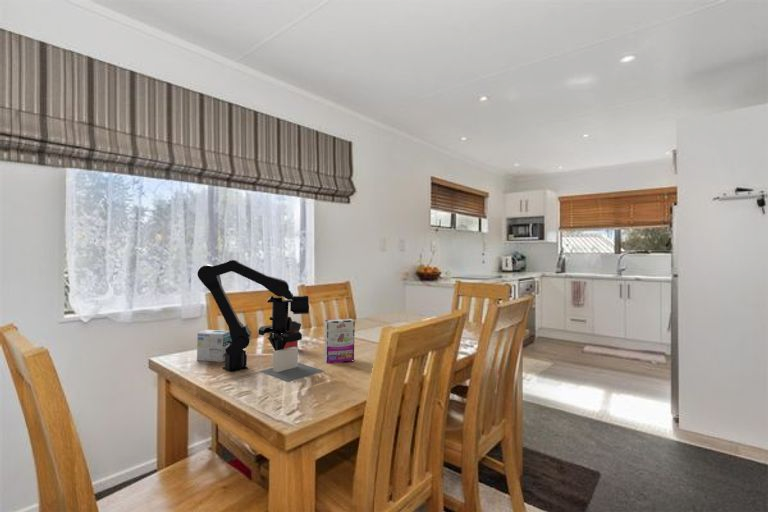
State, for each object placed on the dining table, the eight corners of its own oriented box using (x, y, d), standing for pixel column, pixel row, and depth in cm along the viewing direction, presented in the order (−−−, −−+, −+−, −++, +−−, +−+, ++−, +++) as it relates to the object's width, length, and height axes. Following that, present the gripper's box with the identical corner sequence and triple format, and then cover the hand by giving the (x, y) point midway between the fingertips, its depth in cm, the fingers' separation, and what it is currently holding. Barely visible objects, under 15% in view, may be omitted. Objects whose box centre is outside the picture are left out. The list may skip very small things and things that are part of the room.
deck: (276, 372, 133) (277, 352, 133) (272, 370, 135) (273, 351, 135) (297, 366, 140) (298, 347, 140) (293, 365, 142) (293, 346, 142)
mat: (287, 383, 124) (287, 382, 124) (259, 372, 134) (259, 371, 134) (324, 371, 136) (324, 371, 136) (296, 362, 146) (296, 361, 146)
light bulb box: (231, 357, 150) (232, 330, 150) (222, 362, 144) (223, 334, 144) (205, 356, 151) (206, 329, 151) (195, 360, 145) (196, 332, 145)
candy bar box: (350, 358, 154) (351, 318, 154) (354, 361, 150) (355, 320, 150) (323, 360, 150) (324, 319, 150) (326, 364, 146) (327, 321, 145)
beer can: (295, 352, 161) (296, 323, 161) (279, 351, 161) (280, 323, 161) (299, 348, 168) (300, 321, 168) (284, 347, 168) (285, 320, 168)
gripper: (314, 315, 140) (312, 357, 140) (282, 309, 152) (281, 348, 152) (289, 318, 132) (288, 363, 132) (258, 312, 143) (257, 353, 143)
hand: (279, 356), depth 140 cm, fingers closed
